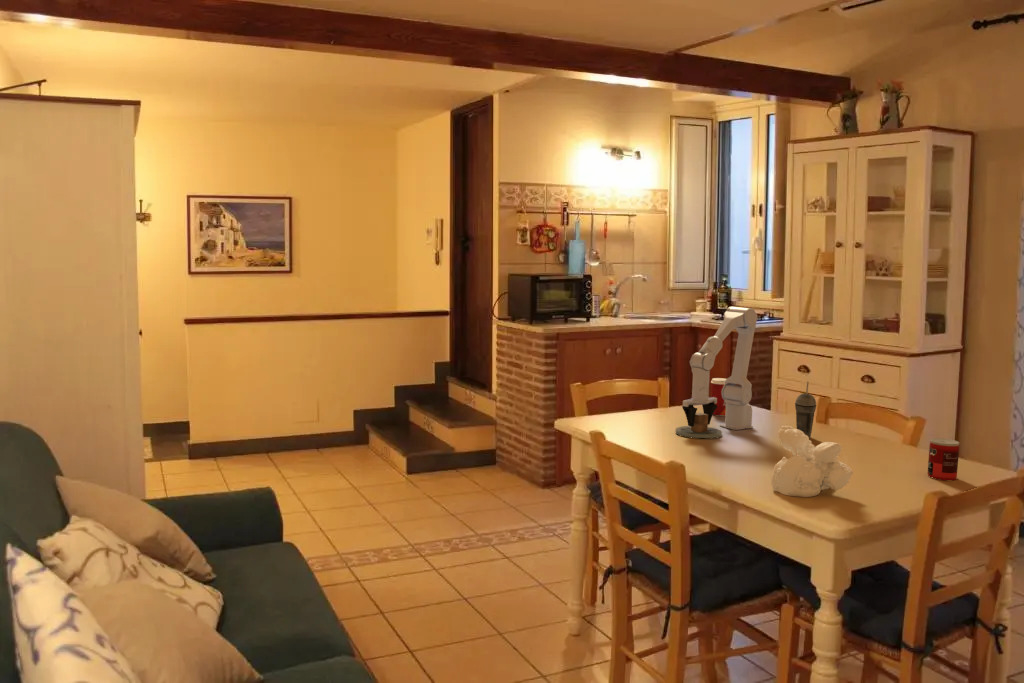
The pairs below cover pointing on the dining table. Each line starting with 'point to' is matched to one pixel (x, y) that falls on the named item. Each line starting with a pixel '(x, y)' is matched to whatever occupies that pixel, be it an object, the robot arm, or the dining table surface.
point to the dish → (689, 433)
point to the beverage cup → (805, 412)
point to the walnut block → (700, 422)
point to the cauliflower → (808, 466)
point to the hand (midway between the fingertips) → (698, 425)
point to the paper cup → (718, 395)
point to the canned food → (943, 458)
